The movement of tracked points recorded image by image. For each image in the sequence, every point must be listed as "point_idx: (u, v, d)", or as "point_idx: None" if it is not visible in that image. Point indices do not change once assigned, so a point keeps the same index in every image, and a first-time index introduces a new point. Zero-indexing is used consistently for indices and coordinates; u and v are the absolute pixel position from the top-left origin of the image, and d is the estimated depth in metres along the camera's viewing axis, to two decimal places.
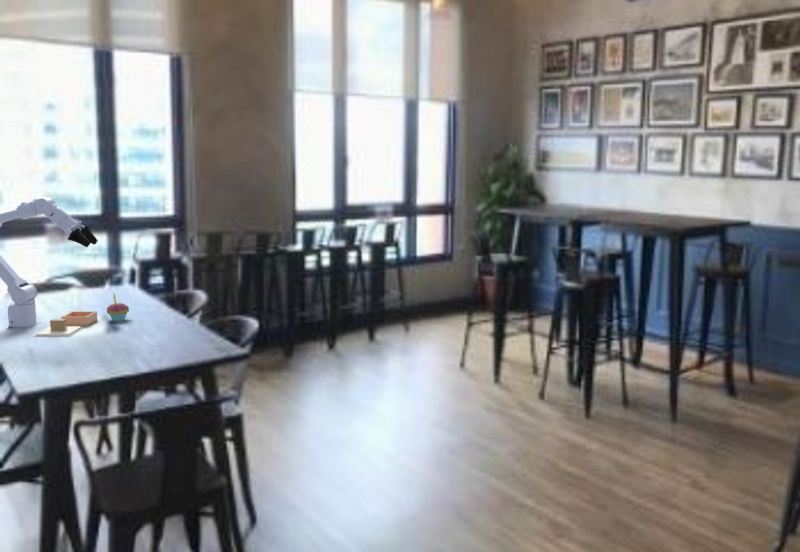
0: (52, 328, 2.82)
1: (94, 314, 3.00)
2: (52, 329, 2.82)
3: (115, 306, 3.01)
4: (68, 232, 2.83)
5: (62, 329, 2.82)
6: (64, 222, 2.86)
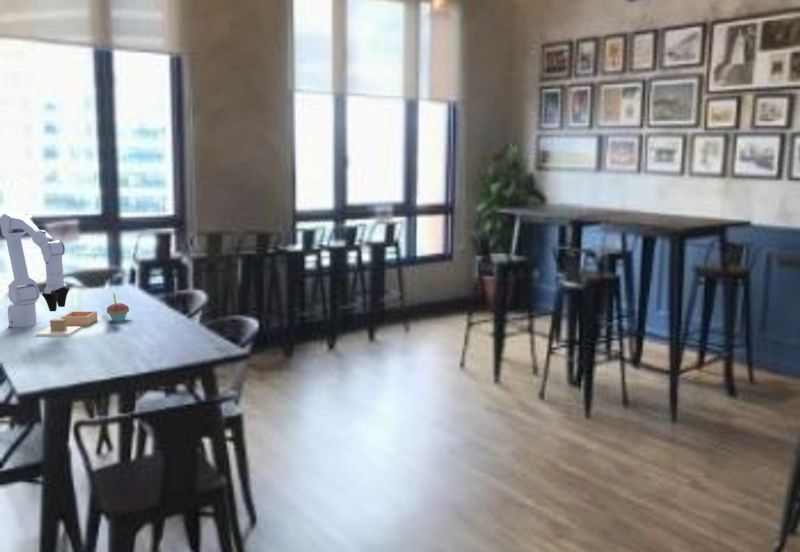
0: (52, 328, 2.82)
1: (94, 314, 3.00)
2: (52, 329, 2.82)
3: (115, 306, 3.01)
4: (47, 291, 2.73)
5: (62, 329, 2.82)
6: (53, 277, 2.77)
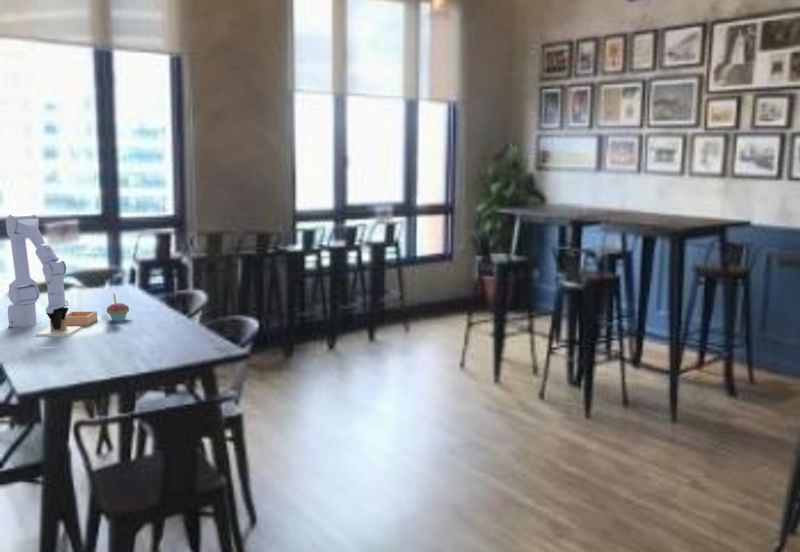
0: (52, 328, 2.82)
1: (94, 314, 3.00)
2: (52, 329, 2.82)
3: (115, 306, 3.01)
4: (49, 311, 2.74)
5: (62, 329, 2.82)
6: (54, 297, 2.78)
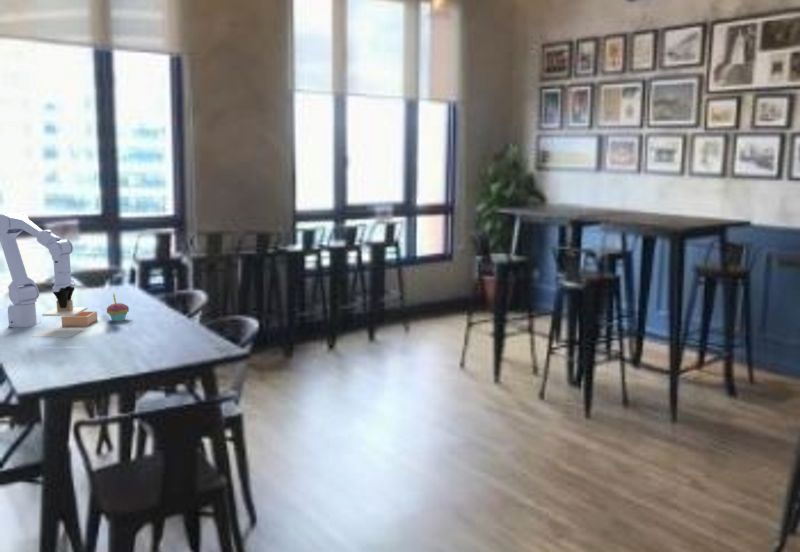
0: (58, 308, 2.86)
1: (94, 314, 3.00)
2: (58, 309, 2.86)
3: (115, 306, 3.01)
4: (55, 290, 2.78)
5: (68, 309, 2.86)
6: (61, 276, 2.82)
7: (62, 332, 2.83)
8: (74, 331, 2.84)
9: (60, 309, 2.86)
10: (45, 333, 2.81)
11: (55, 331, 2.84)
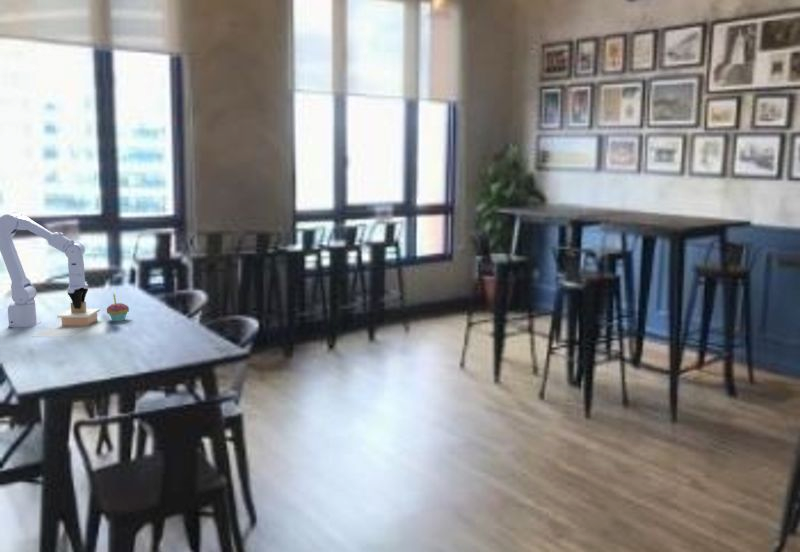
0: (72, 310, 2.96)
1: (94, 314, 3.00)
2: (72, 311, 2.96)
3: (115, 306, 3.01)
4: (70, 291, 2.88)
5: (82, 311, 2.96)
6: (75, 277, 2.92)
7: (62, 332, 2.83)
8: (74, 331, 2.84)
9: (74, 311, 2.96)
10: (45, 333, 2.81)
11: (55, 331, 2.84)
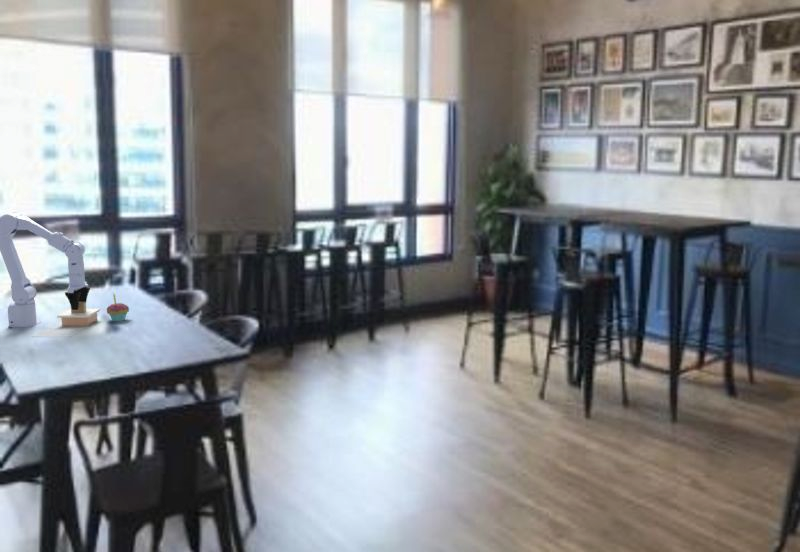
0: (72, 310, 2.96)
1: (94, 314, 3.00)
2: (72, 311, 2.96)
3: (115, 306, 3.01)
4: (70, 291, 2.88)
5: (82, 311, 2.96)
6: (75, 277, 2.92)
7: (62, 332, 2.83)
8: (74, 331, 2.84)
9: (74, 311, 2.96)
10: (45, 333, 2.81)
11: (55, 331, 2.84)
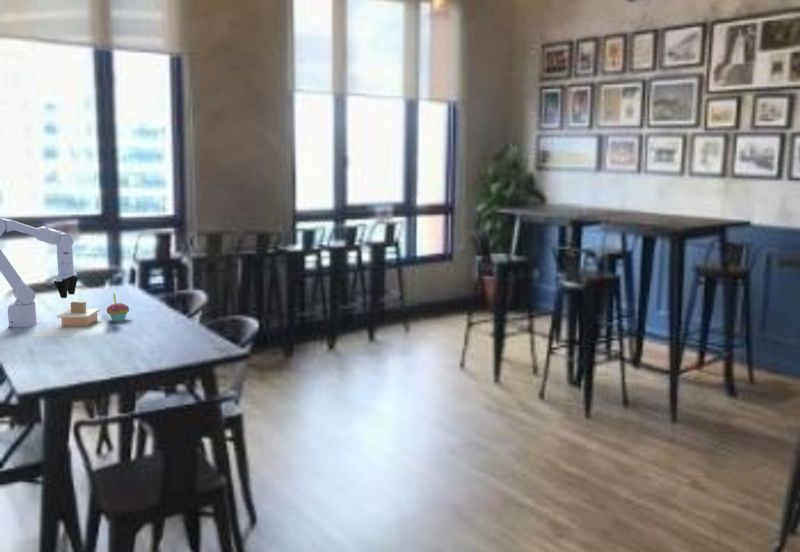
0: (72, 310, 2.96)
1: (94, 314, 3.00)
2: (72, 311, 2.96)
3: (115, 306, 3.01)
4: (59, 279, 2.95)
5: (82, 311, 2.96)
6: (64, 266, 2.98)
7: (62, 332, 2.83)
8: (74, 331, 2.84)
9: (74, 311, 2.96)
10: (45, 333, 2.81)
11: (55, 331, 2.84)
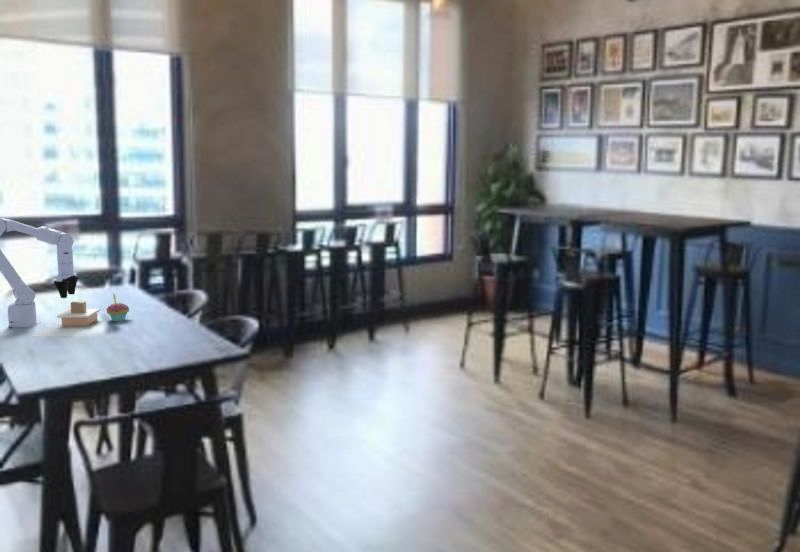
0: (72, 310, 2.96)
1: (94, 314, 3.00)
2: (72, 311, 2.96)
3: (115, 306, 3.01)
4: (59, 279, 2.95)
5: (82, 311, 2.96)
6: (64, 266, 2.98)
7: (62, 332, 2.83)
8: (74, 331, 2.84)
9: (74, 311, 2.96)
10: (45, 333, 2.81)
11: (55, 331, 2.84)
